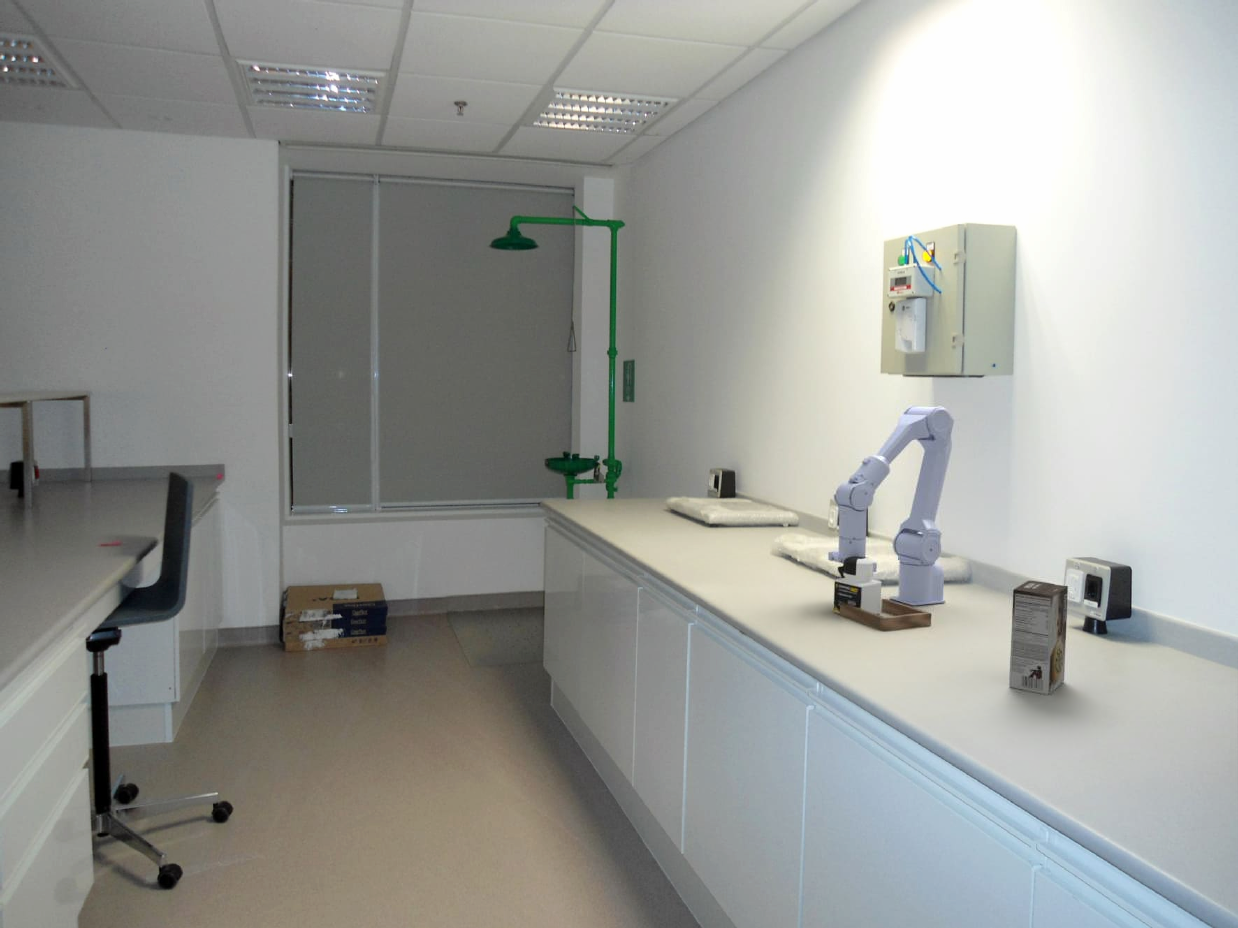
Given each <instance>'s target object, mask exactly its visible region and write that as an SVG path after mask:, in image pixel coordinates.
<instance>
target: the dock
mask: <svg viewBox="0 0 1238 928" xmlns="http://www.w3.org/2000/svg"><path fill="white" fill-rule="evenodd" d="M882 610H883V611H882ZM881 611H882V612H884V611H885V613H887V614H890V613H891V616H882V615H879V614H874V613H872V612H869V611H866V610H863V609H860V608H857V607H854V606H851V605H848V604H845V603H840V613H839V616H841V617H843V618H846V619H850V620H853V621H854V622H858V623H861V624H863V625H866V626H869V627H872V628H874V629H877V630H880V631H882V632H886V631H893V630H894V631H895V630H902V629H904V630H905V629H912V628H921V627H928V626H932V612H928V611H925V610H923V609H920V608H916V607H914V606H911V605H910V606H909V605H908V604H905V603H901V602H898V601H897V602H896V601H895V600H892V599H887V598H881ZM896 615H897V616H896Z"/></svg>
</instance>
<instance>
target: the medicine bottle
mask: <svg viewBox="0 0 1238 928" xmlns="http://www.w3.org/2000/svg"><path fill="white" fill-rule="evenodd" d="M873 562H874V561H873V560H872V559H871V558H869V557H866V556H865V557H860V556H852V557H848V558H846V559H845V560H844V576H845V578H841V577H840V578H837V579H836V578H835V579H834V589H833V612H834V613H837V614H840V603H845V604H848V605H851V606H854V607H857V608H860V609H863V610H866V611H869V612H872V613H874V614H877V615H879V614H881V608H882V581H881V580H877V579H873V577H874V572H873Z"/></svg>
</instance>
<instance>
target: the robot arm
mask: <svg viewBox="0 0 1238 928" xmlns="http://www.w3.org/2000/svg"><path fill="white" fill-rule="evenodd" d="M954 423H955V420H954V418H953V416H952V415H951V413H950V411H949V410H948V409H947V408H946V407H944V406H918V405H910V406H909V407H907V408H906V409H905V410H904V411H903V413H902V414H901V415H900V416H899V417H898V423H897V425H896V427H895V428H894V429H893V431H892V433H891V434H890V436H889V437H888V438H887V439H886V441H885V442H884V444H883V446H881V448H880V449H879V451H878V452H877V454H875V455H869V456H868V457H865V458H863V460H862V461H861V463H862V464H861V465H860V466H859V467H858V469H857V470H856V471H855V472H854V474H852V475H851V476H849V480H848V481H845V482H842V483H841V484H840V485H839V486H838V487H837V489H836V491H835V494H833V500H834V502H835V504H836V505H837V513H838V515H839V518H838V521H839V522H838V551H835V550H834V551H828V555H827V557H828V561H829V562H835V563H836V562H837V563H839V564H842V565H841V566H837V572H838V573H839V575H840V579H841V578H845V576H844V560H845V559H846V558H848V557H852V556H860V557H866V551H867V550H866V548H867V544H866V543H867V538H866V537H867V509H868V508H869V507H871V506H872V503H874V495H875V493H876V490H877V489H878V488H879V486H880V485H881V484H882V483H883V481H884V480H885V479H886V478H887V476H888V475H890V472H891V470H890V469H891V468H890V465H891V463H892V462H893V461H894V460H895V459H896V458H897V457H898V456H899V455H900V454H901V453H902V452H903V451H904V450H905V448H906V447H907V446H908V445H910V444H911V442H912V441H914V440H915V441H918V443H919V444H920V446H922V448H923V450H924V453H923V457H922V462H921V464H920V465H921V466H920V469H919V470H920V471H919V473H918V474H919V475H918V479H917V484H916V487H915V493H914V497H913V500H912V501H913V502H912V506H911V509H910V513H909V517H908V518H907V519H905V520H904V521H903V522H902V523H900V525H899V530H898V531H897V533H896V535H895V536H894V538H893V541H892V549H893V551H894V553H895V555H896V556H897V561H899V567H898V568H899V569H898V571H899V573H898V595H892V596H889V600H892V601H897V602H899V603H902V604H905V605H908V606H909V605H910V606H912V607H914V606H915V607H916V606H923V605H924V606H925V605H932V604H940V603H941V604H943V603H946V599H944V587H945V586H944V581H945V573H944V570H943V567H942V565H941V564H940V563H939V562H937V560H939V557H940V556H941V553H942V543H941V538H942V534H943V533H942V532H941V529H939V527H938V525H936V523H935V522H936V519H937V518H936V517H937V514H938V510H939V505H940V500H941V496H942V492H943V487H944V483H945V478H946V476H947V475H946V474H947V469H948V466H949V462H950V456H951V452H952V446H953V443H952V432H953V428H954ZM877 564H878V563H877V562H874V561H873V573H877V571H878V569H877V566H878V565H877Z"/></svg>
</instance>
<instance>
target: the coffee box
mask: <svg viewBox="0 0 1238 928" xmlns="http://www.w3.org/2000/svg"><path fill="white" fill-rule="evenodd" d="M1068 590H1069V586H1068V585H1062V584H1055V583H1051V582H1045V581H1037V580H1027V581H1025V582H1023V583H1022V584H1020V585H1018V586H1017V587H1015V588H1013V590H1012V615H1011V635H1010V636H1011V637H1010V638H1011V639H1010V657H1009V660H1010V661H1009V683H1008V686H1009V688H1013V689H1018V690H1021V691H1027V692H1033V693H1037V694H1042V695H1047V696H1048V695H1051V694H1052V693H1053V692H1054V691H1055V690H1056V689H1057V688H1058V687H1059V686H1061V684H1063V682H1065V671H1066V670H1065V669H1066V666H1065V664H1066V642H1067V621H1068V620H1067V619H1068V617H1067V615H1068V596H1069V595H1068Z"/></svg>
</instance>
